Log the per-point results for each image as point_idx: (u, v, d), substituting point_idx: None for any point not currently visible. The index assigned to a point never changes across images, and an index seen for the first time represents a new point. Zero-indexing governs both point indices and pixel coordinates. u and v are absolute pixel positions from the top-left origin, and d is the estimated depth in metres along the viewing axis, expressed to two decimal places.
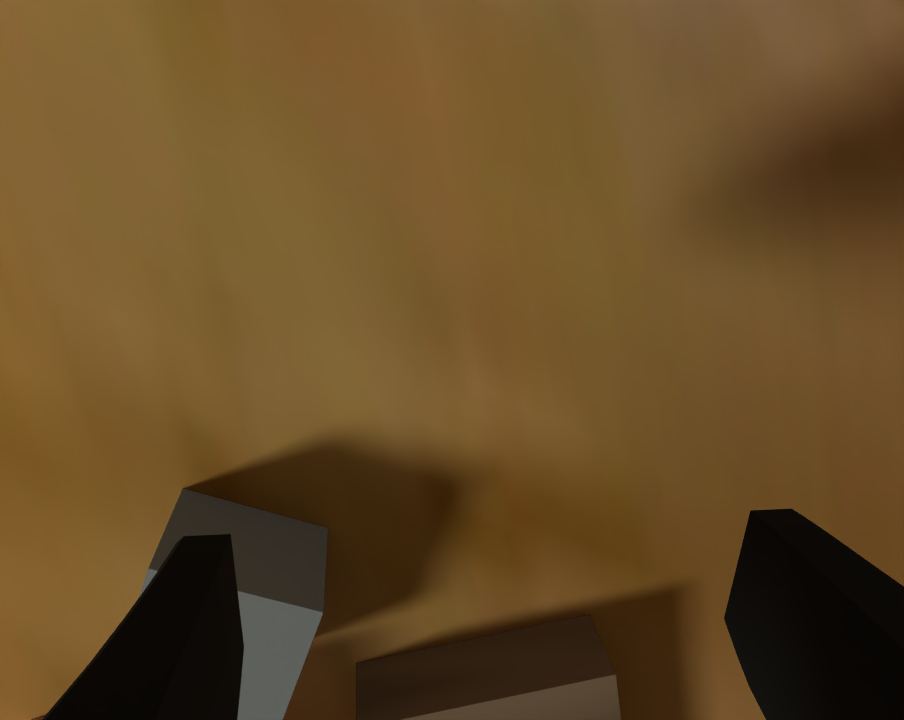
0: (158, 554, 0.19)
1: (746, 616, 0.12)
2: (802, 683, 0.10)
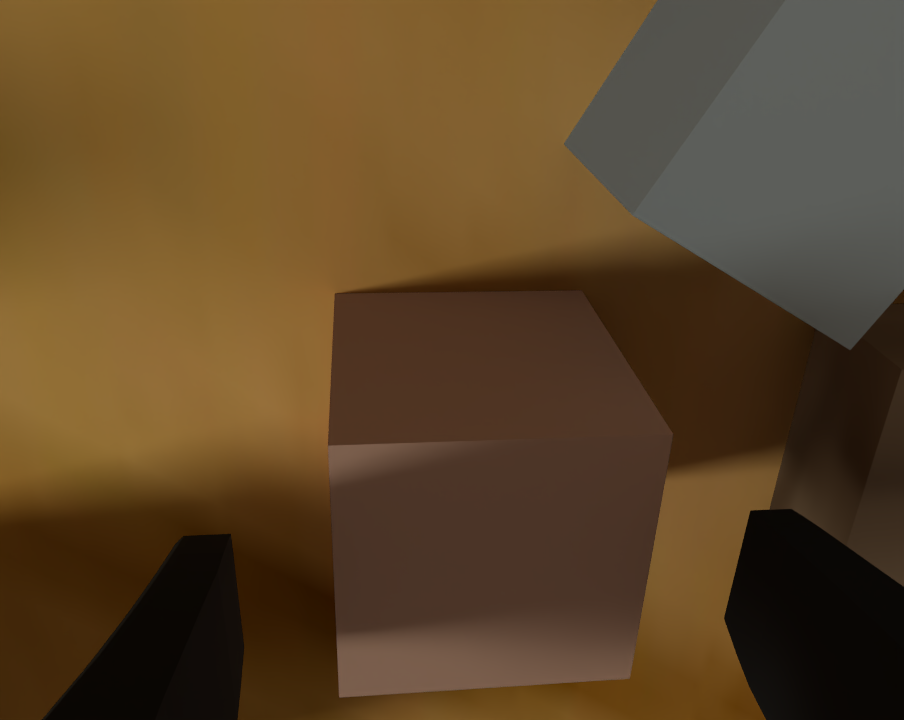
0: None
1: (746, 617, 0.12)
2: (802, 683, 0.10)
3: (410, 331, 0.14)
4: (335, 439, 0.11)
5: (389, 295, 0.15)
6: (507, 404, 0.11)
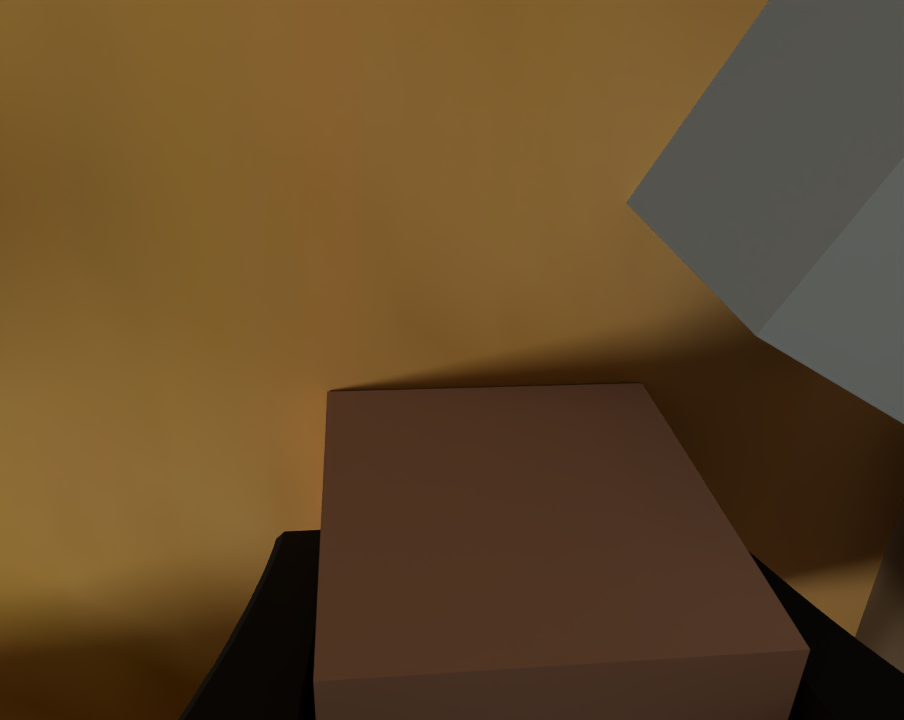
0: None
1: None
2: None
3: (427, 457, 0.10)
4: (325, 666, 0.07)
5: (397, 396, 0.11)
6: (568, 594, 0.08)
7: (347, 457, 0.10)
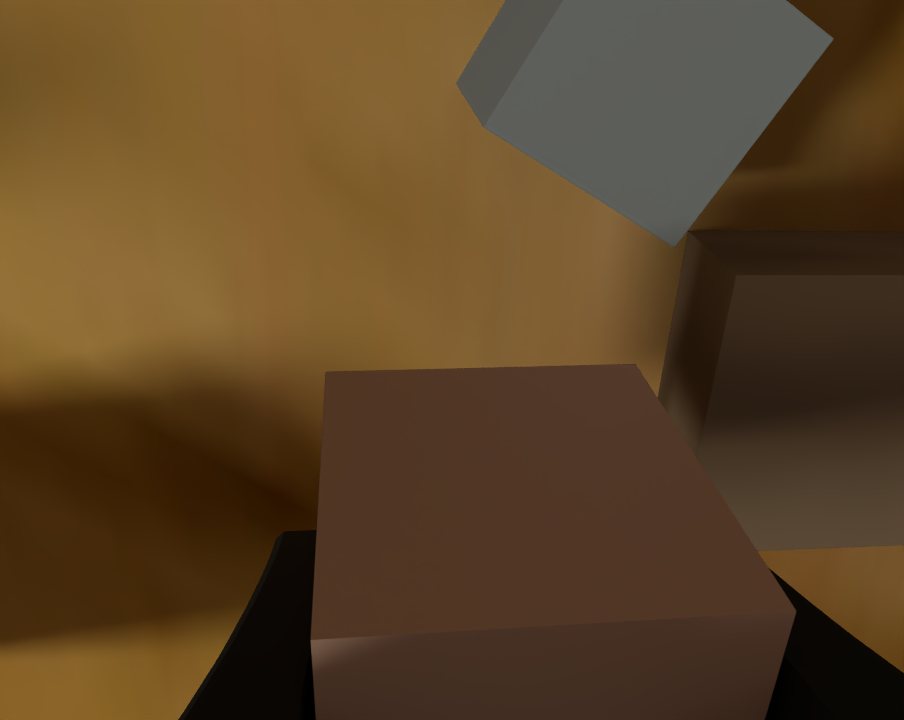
0: None
1: None
2: None
3: (422, 433, 0.10)
4: (322, 626, 0.07)
5: (394, 376, 0.12)
6: (559, 559, 0.08)
7: (344, 433, 0.10)
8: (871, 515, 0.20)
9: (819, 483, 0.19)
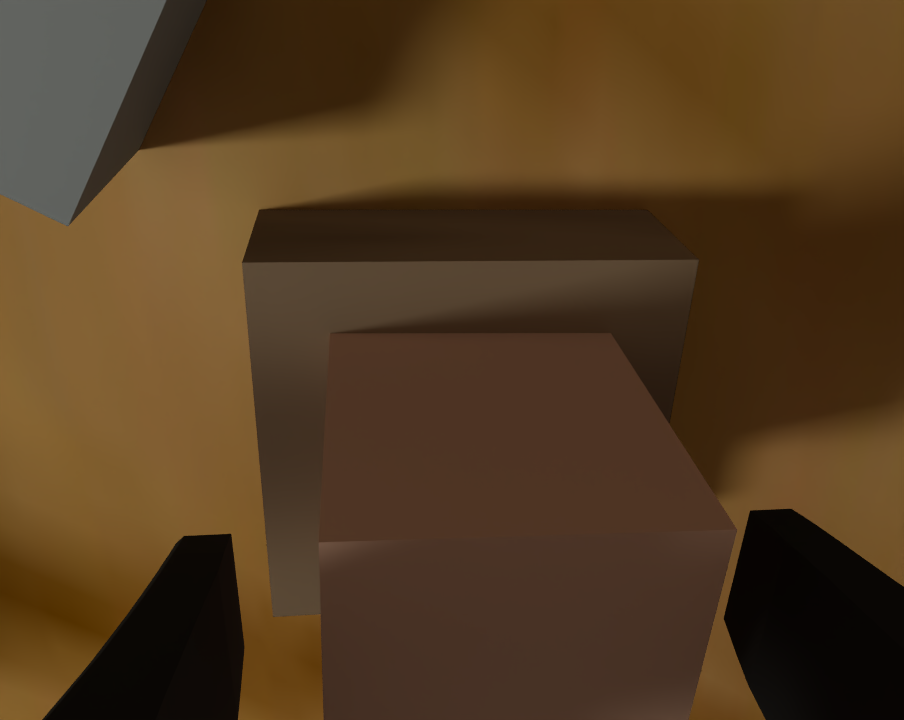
0: None
1: (745, 616, 0.12)
2: (802, 683, 0.10)
3: (417, 385, 0.12)
4: (328, 532, 0.09)
5: (392, 338, 0.13)
6: (535, 486, 0.10)
7: (347, 383, 0.12)
8: None
9: None
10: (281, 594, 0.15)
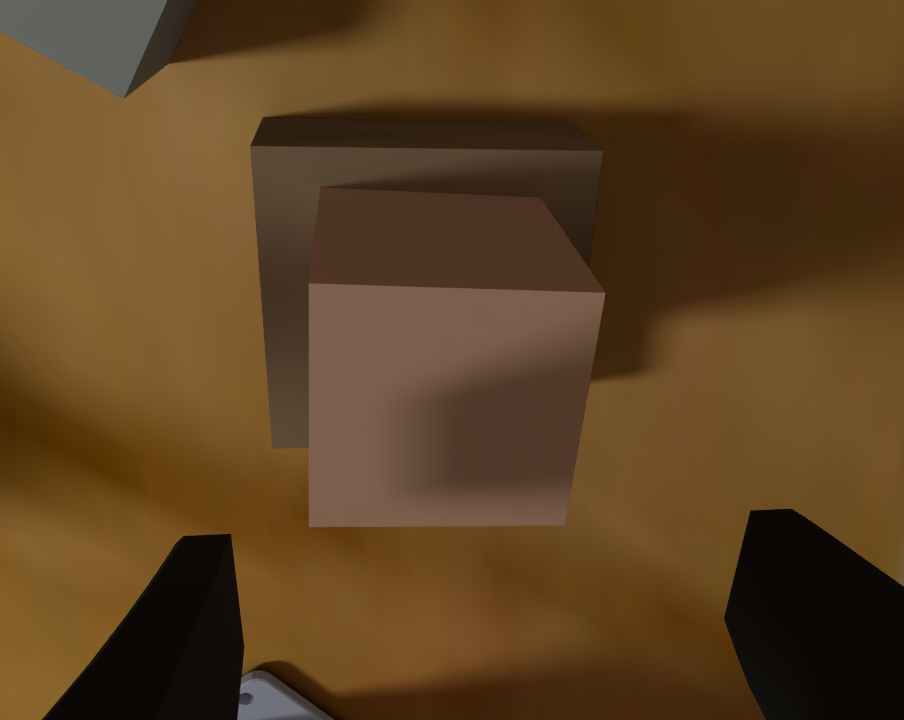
0: None
1: (745, 616, 0.12)
2: (802, 683, 0.10)
3: (385, 216, 0.15)
4: (315, 279, 0.12)
5: (369, 192, 0.17)
6: (465, 267, 0.13)
7: (332, 212, 0.15)
8: None
9: None
10: (279, 428, 0.19)
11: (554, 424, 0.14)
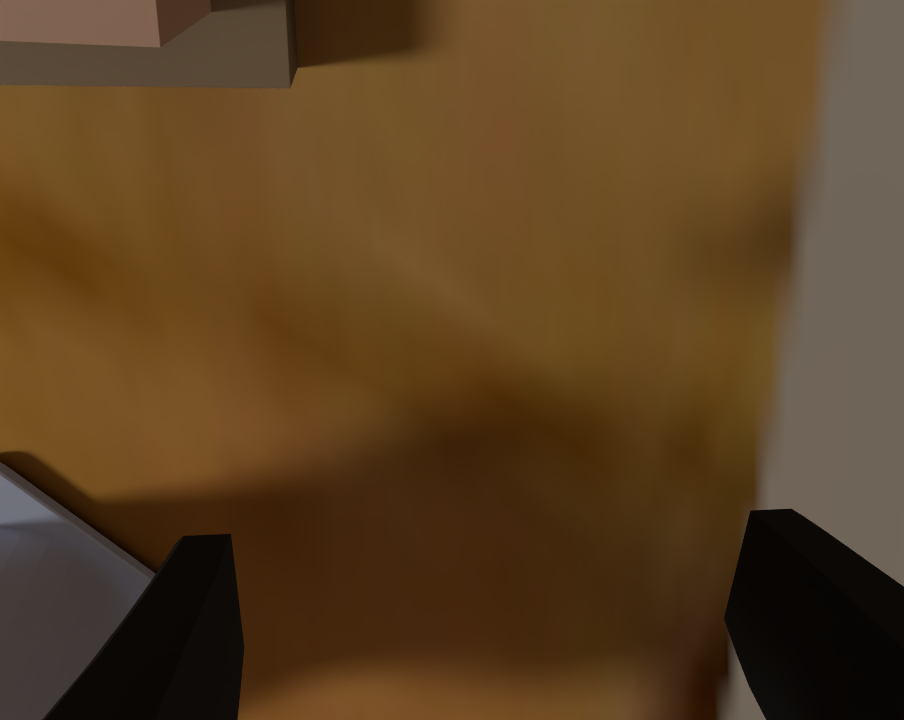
0: None
1: (745, 616, 0.12)
2: (802, 683, 0.10)
3: None
4: None
5: None
6: None
7: None
8: None
9: None
10: None
11: None
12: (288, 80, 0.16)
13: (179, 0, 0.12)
